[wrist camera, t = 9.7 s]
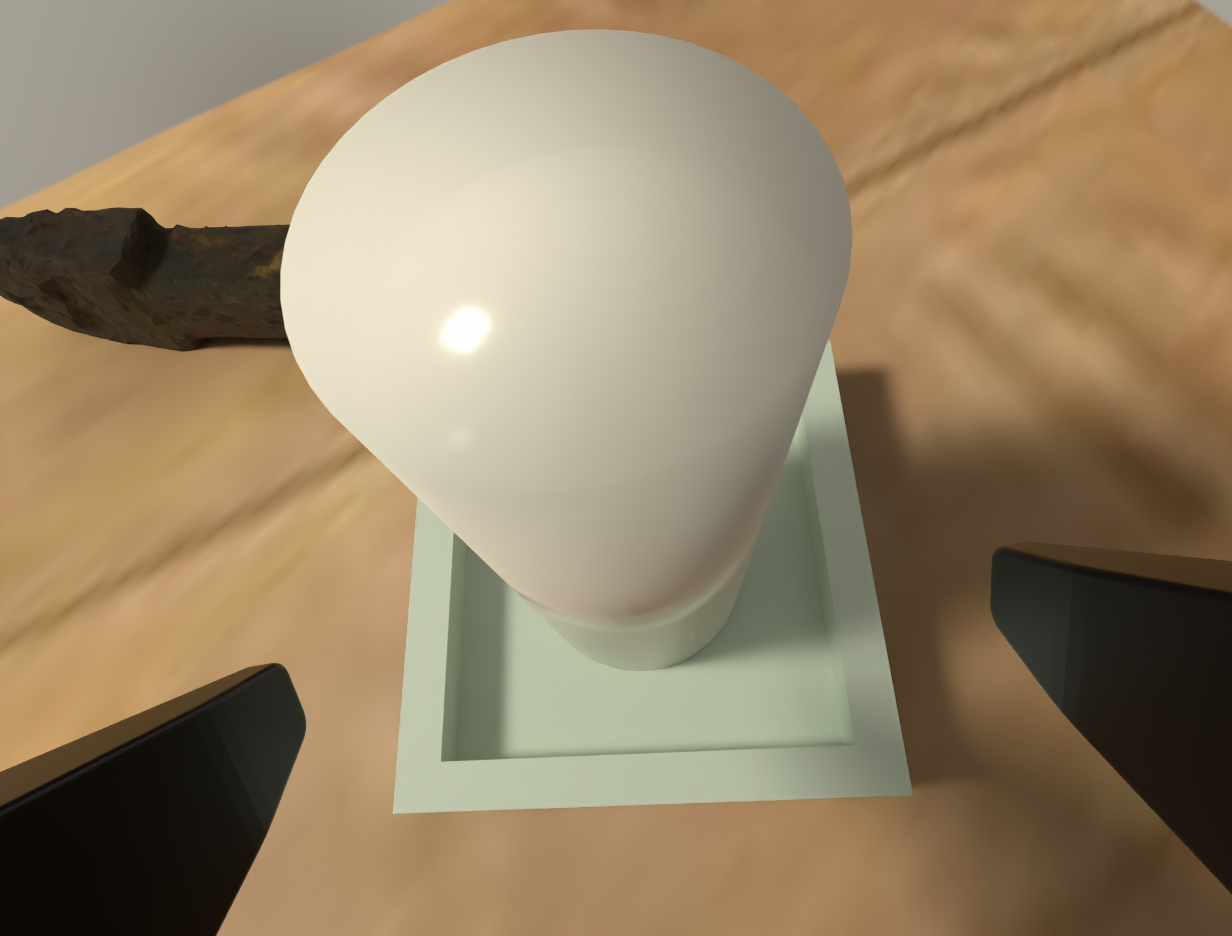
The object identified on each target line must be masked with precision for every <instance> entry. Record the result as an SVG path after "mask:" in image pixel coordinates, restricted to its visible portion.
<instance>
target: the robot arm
mask: <svg viewBox="0 0 1232 936" xmlns="http://www.w3.org/2000/svg"><path fill="white" fill-rule="evenodd" d="M990 603H991V612H992V616H993V619H994V621H995V623H996V625H997V627H998V628H999V630H1000V631H1001V633H1002V634H1003V635H1004V637H1005V638H1006V639H1007V641H1008V642H1009V643H1010V645H1011V646H1012V647H1013V649H1014V650H1015V651H1016V653H1017V654H1018V655H1019V657H1020V658H1021V659H1022V661H1023V662H1024V663H1025V665H1026V666H1027V667H1028V669H1029V670H1030V671H1031V673H1032V674H1033V675H1034V677H1035V678H1036V679H1037V681H1038V682H1039V683H1040V685H1041V686H1042V687H1043V689H1044V690H1045V691H1046V693H1047V694H1048V695H1049V697H1050V698H1051V699H1052V701H1053V702H1054V703H1055V704H1056V706H1057V707H1058V708H1059V709H1060V711H1061V712H1062V713H1063V714H1064V715H1065V716H1066V718H1067V719H1068V720H1069V721H1070V722H1071V723H1072V724H1073V725H1074V727H1075V728H1076V729H1077V730H1078V731H1079V732H1080V733H1081V734H1082V735H1083V736H1084V737H1085V738H1086V739H1087V741H1088V742H1089V743H1090V744H1091V745H1092V746H1093V747H1094V748H1095V749H1096V750H1097V751H1098V752H1099V753H1100V754H1101V755H1102V757H1103V758H1104V759H1105V760H1106V761H1107V762H1108V763H1109V764H1110V765H1111V766H1112V767H1113V768H1114V769H1115V770H1116V771H1117V772H1118V774H1119V775H1120V776H1121V777H1122V778H1123V779H1124V780H1125V781H1126V782H1127V783H1128V784H1129V785H1130V786H1131V787H1132V788H1133V790H1134V791H1135V792H1136V793H1137V794H1138V795H1139V796H1140V797H1141V798H1142V799H1143V800H1144V801H1145V802H1146V803H1147V804H1148V806H1149V807H1150V808H1151V809H1152V810H1153V811H1154V812H1155V813H1156V814H1157V815H1158V816H1159V817H1160V818H1161V819H1162V820H1163V822H1164V823H1165V824H1166V825H1167V826H1168V827H1169V828H1170V829H1171V830H1172V831H1173V832H1174V833H1175V834H1176V835H1177V836H1178V838H1179V839H1180V840H1181V841H1182V842H1183V843H1184V844H1185V845H1186V846H1187V847H1188V848H1189V849H1190V850H1191V851H1192V852H1193V854H1194V855H1195V856H1196V857H1197V858H1198V859H1199V860H1200V861H1201V862H1202V863H1203V864H1204V865H1205V866H1206V867H1207V868H1208V870H1209V871H1210V872H1211V873H1212V874H1213V875H1214V876H1215V877H1216V878H1217V879H1218V880H1219V881H1220V882H1221V883H1222V884H1223V886H1224V887H1225V888H1226V889H1227V890H1228V891H1229V892H1230V893H1231V894H1232V561H1224V560H1213V559H1203V558H1192V557H1182V556H1171V555H1161V554H1150V553H1139V552H1129V551H1118V550H1108V549H1097V548H1087V547H1076V546H1065V545H1055V544H1044V543H1034V542H1028V543H1019V544H1013V545H1006V546H1002V547H999V548H997V549H996V551H995V552H994V554H993V557H992V573H991V602H990ZM305 731H306V719H305V714H304V711H303V708H302V706H301V703H300V701H299V698H298V696H297V693H296V691H295V688H294V686H293V683H292V681H291V678H290V676H289V673H288V672H287V670H286V668H285V667H284V666H282V665H281V664H279V663H270V664H264V665H258V666H252V667H248V668H245V669H243V670H240V671H238V672H236V673H233V674H231V675H229V676H226V677H224V678H221V679H219V680H217V681H214V682H212V683H210V684H207V685H205V686H203V687H200V688H198V689H195V690H193V691H191V692H188V693H186V694H184V695H181V696H179V697H177V698H174V699H172V700H169V701H167V702H165V703H162V704H160V705H158V706H155V707H153V708H151V709H148V710H146V711H143V712H141V713H139V714H136V715H134V716H132V717H129V718H127V719H124V720H122V721H120V722H117V723H115V724H113V725H110V726H108V727H106V728H103V729H101V730H98V731H96V732H94V733H91V734H89V735H87V736H84V737H82V738H80V739H77V740H75V741H72V742H70V743H68V744H65V745H63V746H61V747H58V748H56V749H54V750H51V751H49V752H46V753H44V754H42V755H39V756H37V757H35V758H32V759H30V760H28V761H25V762H23V763H20V764H18V765H16V766H13V767H11V768H9V769H6V770H4V771H2V772H0V936H216V935H217V933H218V931H219V929H220V927H221V925H222V923H223V921H224V919H225V917H226V915H227V913H228V911H229V909H230V907H231V906H232V904H233V902H234V900H235V898H236V896H237V894H238V892H239V890H240V888H241V886H242V884H243V882H244V880H245V878H246V876H247V874H248V872H249V870H250V868H251V866H252V864H253V862H254V860H255V858H256V856H257V854H258V852H259V850H260V848H261V846H262V844H263V841H264V839H265V837H266V835H267V833H268V830H269V828H270V825H271V823H272V821H273V818H274V816H275V813H276V810H277V808H278V805H279V802H280V800H281V797H282V795H283V792H284V789H285V787H286V784H287V781H288V779H289V776H290V774H291V771H292V768H293V766H294V763H295V760H296V758H297V755H298V753H299V750H300V747H301V745H302V742H303V739H304V736H305Z"/></svg>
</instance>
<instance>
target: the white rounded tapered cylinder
mask: <svg viewBox="0 0 1232 936" xmlns="http://www.w3.org/2000/svg"><path fill="white" fill-rule="evenodd" d="M851 248H852V228H851V213H850V206H849V202H848V198H847V194H846V190H845V185H844V181H843V178H842V176H841V174H840V171H839V169H838V166H837V164H836V162H835V159H834V157H833V155H832V152H831V151H830V149H829V148H828V146H827V144H826V143H825V141H824V140H823V138H822V136H821V135H820V133H819V132H818V130H817V128H816V127H815V126H814V125H813V123H812V122H811V121H810V120H809V119H808V118H807V116H806V115H805V114H804V113H803V112H802V111H801V109H800V108H799V107H798V106H797V105H796V104H795V103H794V102H793V101H792V100H790V99H789V98H788V97H787V96H786V95H785V94H784V93H783V92H781V91H780V90H779V89H778V88H777V87H776V86H775V85H773V84H772V83H770V82H769V81H767V80H766V79H764V78H763V77H761V76H760V75H758V74H757V73H755V72H754V71H752V70H751V69H749V68H747V67H746V66H744V65H742V64H740V63H738V62H736V61H734V60H732V59H730V58H728V57H726V56H724V55H722V54H719V53H717V52H714V51H711V50H709V49H706V48H703V47H701V46H698V45H695V44H692V43H688V42H684V41H681V40H677V39H673V38H669V37H665V36H660V35H654V34H647V33H641V32H634V31H621V30H603V29H595V30H567V31H559V32H551V33H543V34H536V35H531V36H526V37H522V38H517V39H513V40H508V41H504V42H500V43H497V44H494V45H491V46H488V47H484V48H481V49H478V50H475V51H472V52H470V53H467V54H465V55H462V56H460V57H457V58H455V59H453V60H450V61H448V62H445V63H443V64H441V65H439V66H437V67H436V68H434V69H432V70H430V71H428V72H426V73H424V74H422V75H420V76H418V77H416V78H415V79H413V80H412V81H410V82H409V83H407V84H405V85H404V86H402V87H401V88H399V89H398V90H396V91H395V92H393V93H392V94H390V95H389V96H387V97H386V98H385V99H384V100H382V101H381V102H380V103H379V104H377V105H376V106H375V107H374V108H372V109H371V110H370V111H369V112H367V113H366V114H365V115H364V116H363V117H362V118H361V119H360V120H359V121H358V122H357V123H356V124H355V125H354V126H353V127H352V128H351V129H350V130H349V131H347V132H346V133H345V134H344V135H343V136H342V138H341V139H340V140H339V141H338V143H337V144H336V145H335V146H334V147H333V149H332V150H331V151H330V152H329V154H328V155H327V156H326V157H325V158H324V160H323V161H322V163H321V164H320V166H319V167H318V169H317V171H316V172H315V174H314V175H313V177H312V178H311V180H310V182H309V183H308V185H307V187H306V189H305V191H304V193H303V195H302V197H301V199H300V201H299V203H298V206H297V208H296V210H295V212H294V215H293V218H292V221H291V224H290V227H289V231H288V234H287V237H286V240H285V246H284V252H283V258H282V264H281V282H280V300H281V307H282V313H283V319H284V325H285V331H286V333H287V336H288V339H289V342H290V345H291V348H292V351H293V354H294V357H295V360H296V361H297V363H298V365H299V367H300V369H301V371H302V372H303V374H304V376H305V378H306V380H307V382H308V384H309V385H310V387H311V388H312V390H313V391H314V392H315V393H316V395H317V396H318V397H319V399H320V400H321V401H322V402H323V404H324V405H325V406H326V408H327V409H328V410H329V411H330V413H331V414H332V415H333V416H334V417H336V418H337V419H338V420H339V421H340V422H341V423H342V424H343V425H344V426H345V427H346V428H347V429H348V430H349V431H350V432H351V433H352V434H353V435H354V436H355V437H356V438H357V439H358V440H359V441H360V442H361V443H362V444H363V445H364V446H365V447H367V448H368V449H369V450H370V451H371V452H372V453H373V454H374V455H375V456H376V457H377V458H378V459H379V460H380V461H381V462H382V463H383V464H384V465H385V466H386V467H387V468H388V469H389V470H390V471H391V472H392V473H393V474H394V475H395V476H396V477H398V478H399V479H400V480H401V481H402V482H403V483H404V484H405V485H406V486H407V487H408V488H409V489H410V490H411V491H412V492H413V493H414V494H415V495H416V496H417V497H418V498H419V499H420V500H421V501H422V502H423V503H424V504H425V505H426V506H428V507H429V508H430V509H431V510H432V511H433V512H434V513H435V514H436V515H437V516H438V517H439V518H440V519H441V520H442V521H443V522H444V523H445V524H446V525H447V526H448V527H449V528H450V529H451V530H452V531H453V532H454V533H455V534H456V535H457V536H459V537H460V538H461V539H462V540H463V541H464V542H465V543H466V544H467V545H468V546H469V547H470V548H471V549H472V550H473V551H474V552H475V553H476V554H477V555H478V556H479V557H480V558H481V559H482V560H483V561H484V562H485V563H486V564H487V565H488V566H490V567H491V568H492V569H493V570H494V571H495V572H496V573H497V574H498V575H499V576H500V577H501V578H502V579H503V580H504V581H505V582H506V583H507V584H508V585H509V586H510V587H511V588H512V589H513V590H514V591H515V592H516V593H517V594H518V595H519V596H521V597H522V598H523V599H524V600H525V601H526V602H527V603H528V604H529V605H530V606H531V607H532V608H533V609H534V610H535V611H536V612H537V613H538V614H539V615H540V616H541V617H542V618H543V619H544V620H545V621H546V622H547V623H548V624H549V625H550V626H552V627H553V628H554V629H555V630H556V631H557V632H558V633H559V634H560V635H561V636H562V637H563V638H564V639H565V640H566V641H567V642H568V643H569V644H570V645H571V646H572V647H574V648H575V649H576V650H577V651H579V652H580V653H582V654H583V655H584V656H586V657H588V658H590V659H592V660H594V661H596V662H597V663H600V664H603V665H606V666H608V667H611V668H616V669H621V670H628V671H650V670H657V669H661V668H666V667H669V666H672V665H675V664H678V663H680V662H682V661H684V660H686V659H688V658H690V657H692V656H693V655H695V654H696V653H698V652H699V651H700V650H702V649H703V648H704V647H706V646H707V645H708V644H709V643H710V642H711V641H712V640H713V639H714V638H715V637H716V635H717V634H718V633H719V632H720V631H721V629H722V628H723V626H724V625H725V623H726V622H727V620H728V618H729V617H730V614H731V612H732V610H733V608H734V605H735V603H736V600H737V597H738V594H739V591H740V588H741V586H742V583H743V580H744V577H745V574H746V571H747V569H748V566H749V563H750V560H751V557H752V554H753V551H754V549H755V546H756V543H757V540H758V537H759V534H760V532H761V529H762V526H763V523H764V520H765V517H766V514H767V512H768V509H769V506H770V503H771V500H772V497H773V495H774V492H775V489H776V486H777V483H778V480H779V477H780V475H781V472H782V469H783V466H784V463H785V460H786V458H787V455H788V452H789V449H790V446H791V443H792V440H793V438H794V435H795V432H796V429H797V426H798V423H799V421H800V418H801V415H802V412H803V409H804V406H805V403H806V401H807V398H808V395H809V392H810V389H811V386H812V384H813V381H814V378H815V375H816V372H817V369H818V366H819V364H820V361H821V358H822V355H823V352H824V349H825V346H826V344H827V341H828V338H829V335H830V332H831V329H832V327H833V324H834V321H835V318H836V315H837V312H838V309H839V307H840V303H841V300H842V296H843V293H844V289H845V285H846V282H847V278H848V274H849V268H850V258H851Z"/></svg>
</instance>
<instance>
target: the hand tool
mask: <svg viewBox="0 0 1232 936" xmlns="http://www.w3.org/2000/svg"><path fill="white" fill-rule="evenodd" d="M289 227H290V225H266V226H243V227H227V226H225V227H210V228H209V227H207V226H205V228H188V227H184V226H181V225H176V226H175V227H174V228H164V227H162V226H161V225H159V224H158V223H157V222H156V221H155V219H154V218H153V217H152V216H151V215H150V214H149V213H147V212H146V211H145V210H144V209H142V208H108V209H102V210H96V211H82V210H79V209H76V208H65V209H63V210H62V211H60V212H59V213H54V212H52V211H50V210H48V209H47V210H42V211H36V212H32V213H29V214H27V215H26V216H24V217H20V218H17V217H5V218H3V219H0V296H2V297H3V298H5V299H7V300H9V301H11V302H13V303H16V304H19V305H22V306H24V307H25V308H26V309H28V310H29V311H31V312H32V313H34V314H36V315H38V316H40V317H42V318H44V319H46V320H48V321H50V322H51V323H53V324H56V325H59V326H62V327H65V328H67V329H69V330H72V331H74V332H79V333H84V334H88V335H90V336H95V337H99V338H104V339H108V340H111V341H116V342H122V343H131V342H133V343H139V344H145V345H149V346H155V347H161V348H167V349H172V350H193V349H198V348H199V347H200V346H201V345H202V344H203V343H204V342H205V341H206V340H207V339H208V338H215V337H244V338H278V339H288V336H287V333H286V331H285V325H284V319H283V313H282V307H281V300H280V282H281V264H282V258H283V252H284V246H285V240H286V237H287V234H288V231H289Z"/></svg>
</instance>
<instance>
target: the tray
mask: <svg viewBox="0 0 1232 936" xmlns="http://www.w3.org/2000/svg"><path fill="white" fill-rule="evenodd" d="M908 795H913V792H912V786H911V781H910V776H909V770H908V765H907V759H906V754H905V748H904V743H903V737H902V732H901V726H900V721H899V715H898V710H897V705H896V699H895V694H894V688H893V683H892V677H891V672H890V666H889V661H888V655H887V650H886V644H885V639H884V634H883V628H882V623H881V617H880V612H879V606H878V601H877V595H876V590H875V584H874V579H873V573H872V568H871V563H870V557H869V552H868V546H867V541H866V535H865V530H864V524H863V519H862V513H861V508H860V502H859V497H858V492H857V486H856V481H855V475H854V470H853V464H852V459H851V453H850V448H849V442H848V437H847V431H846V426H845V421H844V415H843V410H842V404H841V399H840V393H839V388H838V382H837V377H836V371H835V366H834V360H833V355H832V350H831V344H830V340H829V341H827V344H826V346H825V349H824V352H823V355H822V358H821V361H820V364H819V366H818V369H817V372H816V375H815V378H814V381H813V384H812V386H811V389H810V392H809V395H808V398H807V401H806V403H805V406H804V409H803V412H802V415H801V418H800V421H799V423H798V426H797V429H796V432H795V435H794V438H793V440H792V443H791V446H790V449H789V452H788V455H787V458H786V460H785V463H784V466H783V469H782V472H781V475H780V477H779V480H778V483H777V486H776V489H775V492H774V495H773V497H772V500H771V503H770V506H769V509H768V512H767V514H766V517H765V520H764V523H763V526H762V529H761V532H760V534H759V537H758V540H757V543H756V546H755V549H754V551H753V554H752V557H751V560H750V563H749V566H748V569H747V571H746V574H745V577H744V580H743V583H742V586H741V588H740V591H739V594H738V597H737V600H736V603H735V605H734V608H733V610H732V612H731V614H730V617H729V618H728V620H727V622H726V623H725V625H724V626H723V628H722V629H721V631H720V632H719V633H718V634H717V635H716V637H715V638H714V639H713V640H712V641H711V642H710V643H709V644H708V645H707V646H706V647H704V648H703V649H702V650H700V651H699V652H698V653H696V654H695V655H693V656H692V657H690V658H688V659H686V660H684V661H682V662H680V663H678V664H675V665H672V666H669V667H666V668H661V669H657V670H650V671H628V670H621V669H616V668H611V667H608V666H606V665H603V664H600V663H597V662H596V661H594V660H592V659H590V658H588V657H586V656H584V655H583V654H582V653H580V652H579V651H577V650H576V649H575V648H574V647H572V646H571V645H570V644H569V643H568V642H567V641H566V640H565V639H564V638H563V637H562V636H561V635H560V634H559V633H558V632H557V631H556V630H555V629H554V628H553V627H552V626H550V625H549V624H548V623H547V622H546V621H545V620H544V619H543V618H542V617H541V616H540V615H539V614H538V613H537V612H536V611H535V610H534V609H533V608H532V607H531V606H530V605H529V604H528V603H527V602H526V601H525V600H524V599H523V598H522V597H521V596H519V595H518V594H517V593H516V592H515V591H514V590H513V589H512V588H511V587H510V586H509V585H508V584H507V583H506V582H505V581H504V580H503V579H502V578H501V577H500V576H499V575H498V574H497V573H496V572H495V571H494V570H493V569H492V568H491V567H490V566H488V565H487V564H486V563H485V562H484V561H483V560H482V559H481V558H480V557H479V556H478V555H477V554H476V553H475V552H474V551H473V550H472V549H471V548H470V547H469V546H468V545H467V544H466V543H465V542H464V541H463V540H462V539H461V538H460V537H459V536H457V535H456V534H455V533H454V532H453V531H452V530H451V529H450V528H449V527H448V526H447V525H446V524H445V523H444V522H443V521H442V520H441V519H440V518H439V517H438V516H437V515H436V514H435V513H434V512H433V511H432V510H431V509H430V508H429V507H428V506H426V505H425V504H424V503H423V502H422V501H421V500H420V499H419V498H417V511H416V524H415V537H414V549H413V562H412V575H411V588H410V600H409V613H408V626H407V639H406V651H405V664H404V677H403V690H402V703H401V715H400V728H399V741H398V754H397V766H396V779H395V792H394V805H393V814H396V813H425V812H453V811H481V810H510V809H538V808H567V807H595V806H623V805H652V804H680V803H709V802H737V801H766V800H794V799H822V798H851V797H879V796H908Z"/></svg>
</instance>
